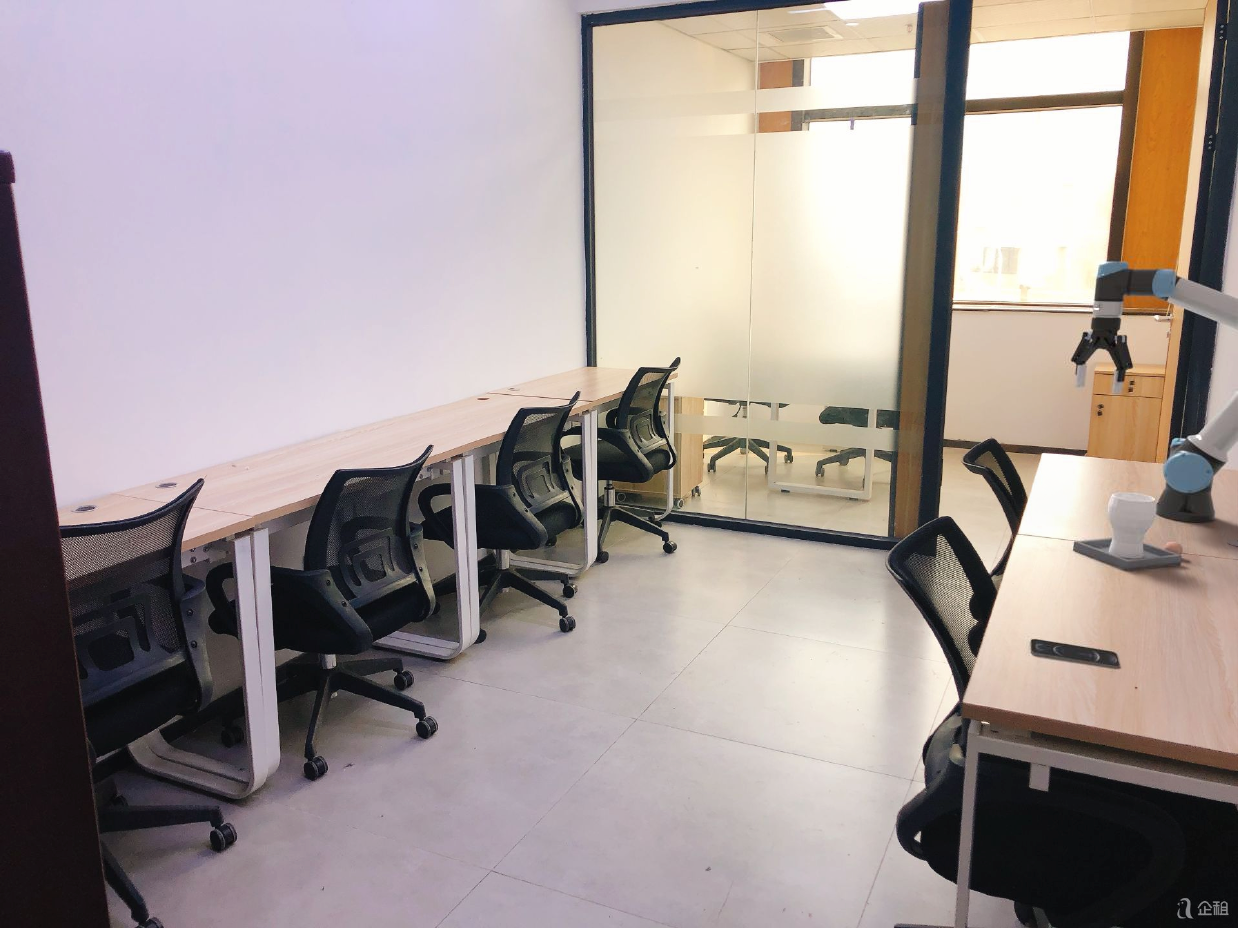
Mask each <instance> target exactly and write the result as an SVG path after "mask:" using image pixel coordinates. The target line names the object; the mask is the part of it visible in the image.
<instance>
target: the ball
mask: <svg viewBox="0 0 1238 928" xmlns="http://www.w3.org/2000/svg"><path fill="white" fill-rule="evenodd" d="M1163 549H1164V550H1167V551H1170V552H1173V553H1176V554H1179V555H1182V554H1183V546H1182V544H1180V543H1179V542H1177V541H1170V542H1169V541H1168V542H1167V543H1166V544H1165V545H1164V548H1163Z"/></svg>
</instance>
